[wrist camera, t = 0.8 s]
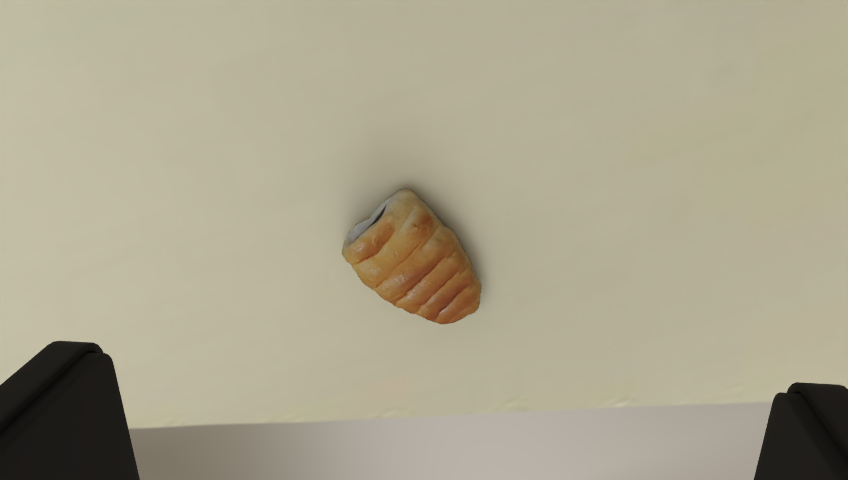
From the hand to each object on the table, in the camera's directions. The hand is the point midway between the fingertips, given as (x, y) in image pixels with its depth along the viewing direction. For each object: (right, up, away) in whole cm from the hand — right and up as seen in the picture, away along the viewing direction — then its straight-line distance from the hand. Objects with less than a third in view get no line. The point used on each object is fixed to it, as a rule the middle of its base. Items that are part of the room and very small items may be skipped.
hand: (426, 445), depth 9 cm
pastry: (-1, +2, +34) cm, 34 cm away
